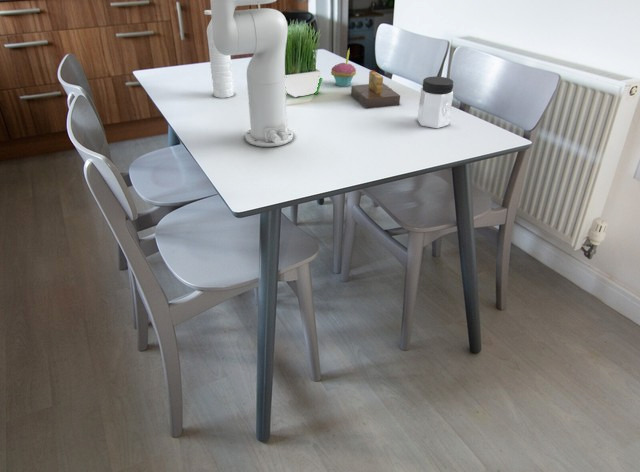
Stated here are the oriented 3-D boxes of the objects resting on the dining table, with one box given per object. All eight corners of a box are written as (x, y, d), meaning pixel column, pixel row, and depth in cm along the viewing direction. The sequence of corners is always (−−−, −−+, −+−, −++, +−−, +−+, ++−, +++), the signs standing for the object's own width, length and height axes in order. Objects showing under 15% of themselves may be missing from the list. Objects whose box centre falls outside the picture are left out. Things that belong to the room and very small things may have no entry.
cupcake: (346, 79, 179) (347, 44, 172) (360, 85, 173) (362, 49, 166) (326, 83, 175) (326, 47, 169) (339, 89, 169) (340, 52, 162)
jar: (431, 130, 138) (437, 86, 131) (411, 121, 143) (415, 79, 137) (454, 123, 142) (461, 81, 136) (433, 115, 148) (439, 74, 141)
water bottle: (237, 95, 164) (230, 12, 150) (220, 99, 160) (211, 15, 146) (223, 89, 169) (215, 9, 155) (206, 93, 166) (196, 11, 152)
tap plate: (399, 105, 156) (400, 95, 154) (366, 108, 153) (366, 98, 151) (382, 91, 167) (383, 82, 165) (350, 94, 164) (351, 85, 163)
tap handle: (382, 93, 156) (383, 76, 153) (376, 93, 155) (377, 76, 152) (373, 86, 161) (374, 70, 159) (368, 87, 161) (369, 70, 158)
